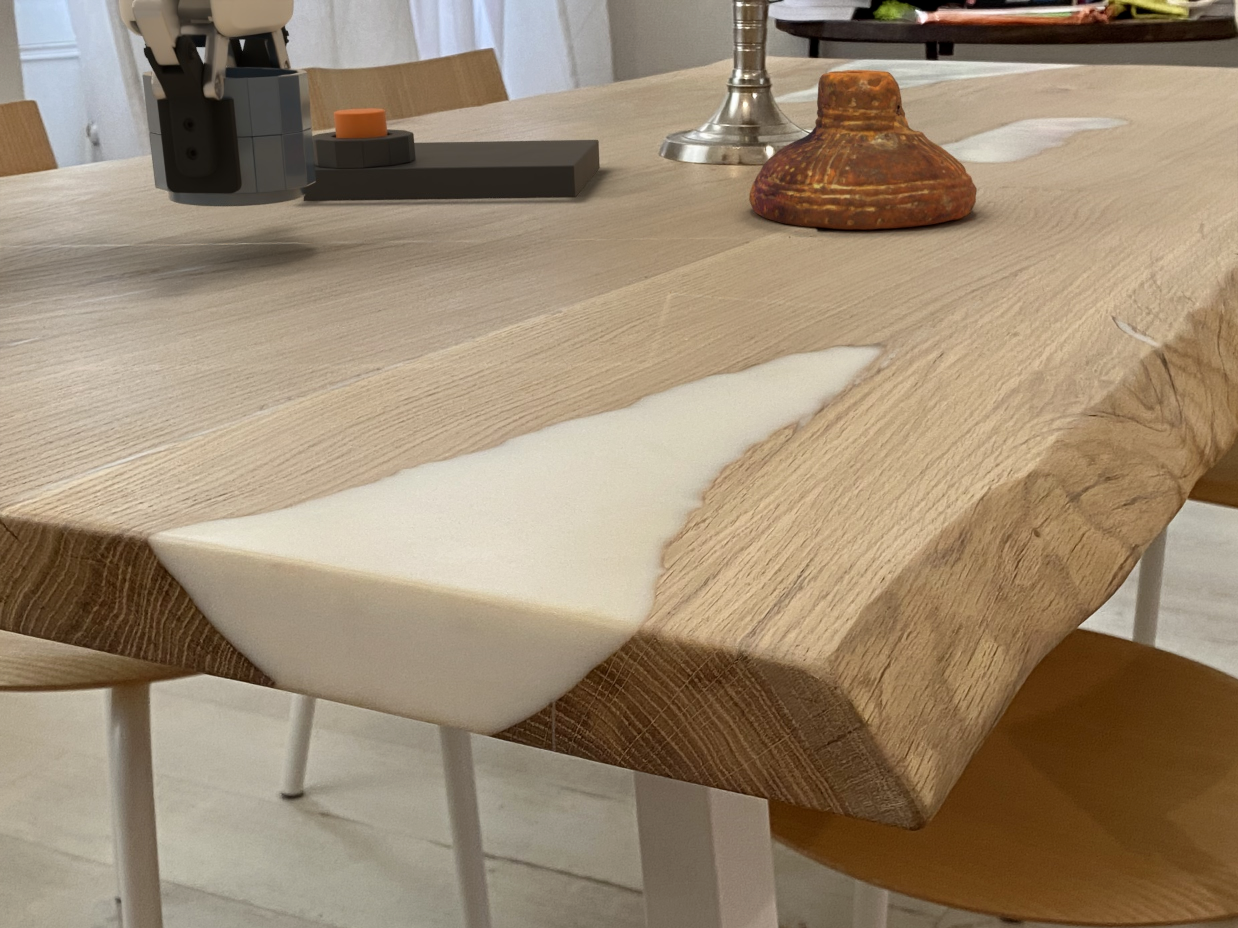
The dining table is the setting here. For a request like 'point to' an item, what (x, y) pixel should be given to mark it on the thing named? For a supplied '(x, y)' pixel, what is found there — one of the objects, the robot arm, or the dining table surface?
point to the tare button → (360, 123)
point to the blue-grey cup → (255, 137)
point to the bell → (862, 165)
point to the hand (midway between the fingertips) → (236, 176)
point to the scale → (448, 168)
